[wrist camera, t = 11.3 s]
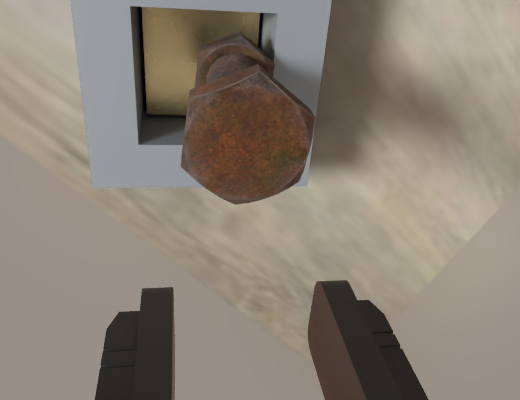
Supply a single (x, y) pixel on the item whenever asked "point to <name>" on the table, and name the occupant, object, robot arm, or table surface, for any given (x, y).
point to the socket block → (131, 84)
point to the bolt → (243, 124)
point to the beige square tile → (183, 50)
